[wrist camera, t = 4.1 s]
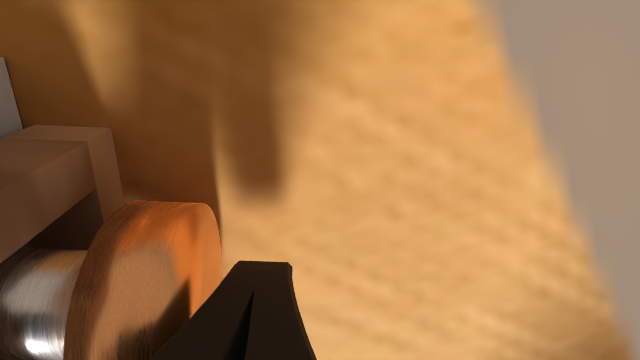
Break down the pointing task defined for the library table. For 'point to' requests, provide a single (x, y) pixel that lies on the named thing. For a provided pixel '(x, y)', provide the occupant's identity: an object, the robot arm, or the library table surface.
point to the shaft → (111, 286)
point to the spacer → (56, 186)
